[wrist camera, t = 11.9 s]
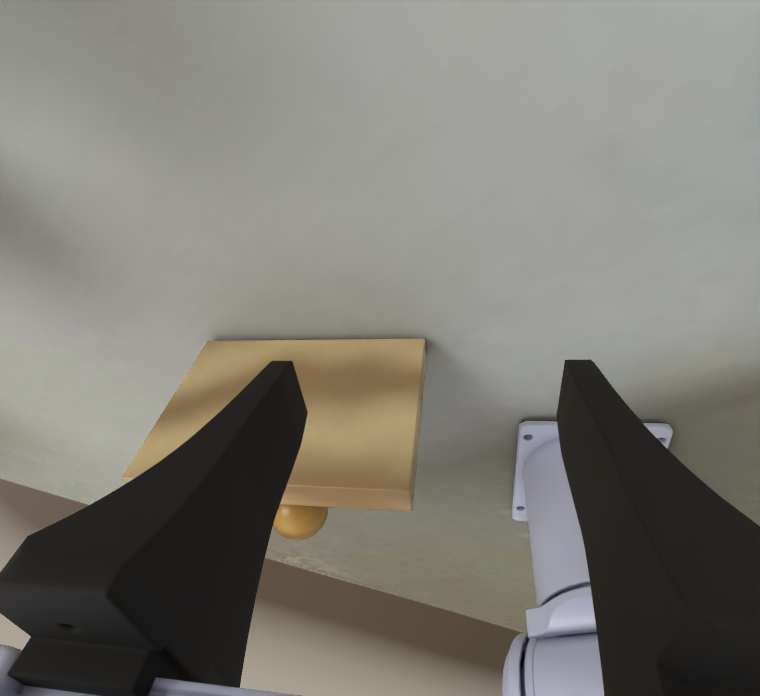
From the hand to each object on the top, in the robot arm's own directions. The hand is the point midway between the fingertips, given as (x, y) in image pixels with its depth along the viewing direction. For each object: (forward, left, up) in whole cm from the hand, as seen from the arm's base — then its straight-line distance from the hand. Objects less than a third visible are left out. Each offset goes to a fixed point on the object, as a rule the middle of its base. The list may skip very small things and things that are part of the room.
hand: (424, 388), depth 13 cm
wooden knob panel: (-6, +7, -6) cm, 11 cm away
